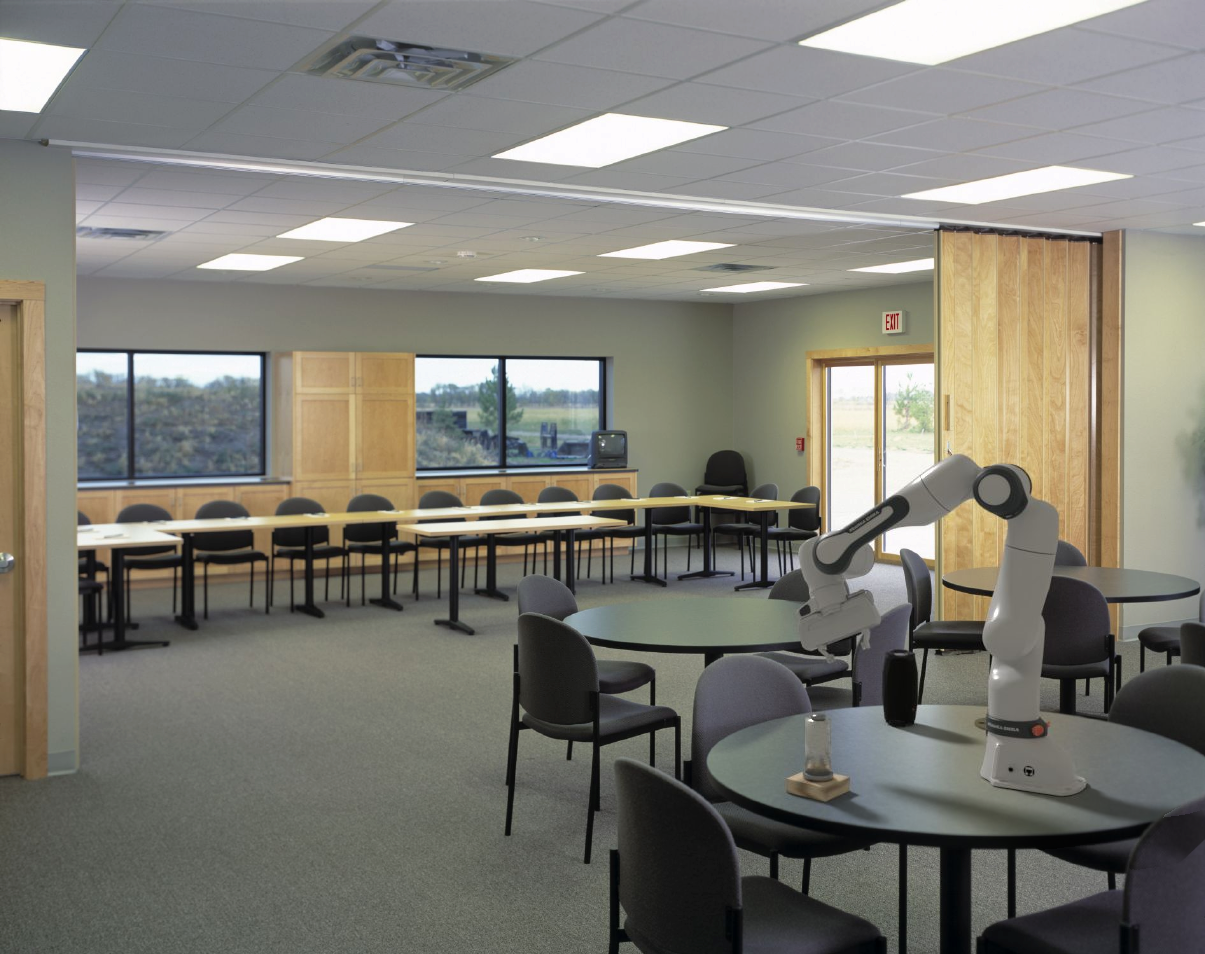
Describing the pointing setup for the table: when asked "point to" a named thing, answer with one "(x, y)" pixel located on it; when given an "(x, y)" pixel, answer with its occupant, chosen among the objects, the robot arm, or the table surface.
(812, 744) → the cylinder
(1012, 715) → the robot arm
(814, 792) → the stand
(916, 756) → the table surface
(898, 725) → the portable speaker
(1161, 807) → the table surface
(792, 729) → the table surface
